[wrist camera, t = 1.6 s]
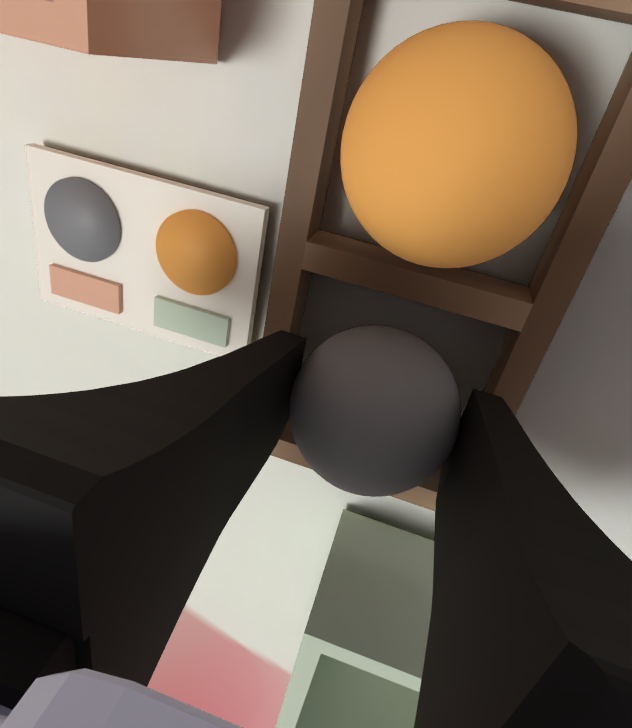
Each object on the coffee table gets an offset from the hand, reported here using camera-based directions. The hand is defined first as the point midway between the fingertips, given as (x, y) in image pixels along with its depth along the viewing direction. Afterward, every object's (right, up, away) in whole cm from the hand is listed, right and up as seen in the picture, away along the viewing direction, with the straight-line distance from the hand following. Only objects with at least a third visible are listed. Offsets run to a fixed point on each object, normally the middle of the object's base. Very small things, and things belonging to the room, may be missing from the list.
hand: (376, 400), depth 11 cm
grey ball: (0, 0, 0) cm, 0 cm away
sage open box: (+2, -7, +5) cm, 9 cm away
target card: (-6, +3, +2) cm, 7 cm away
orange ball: (+1, +4, -3) cm, 5 cm away
